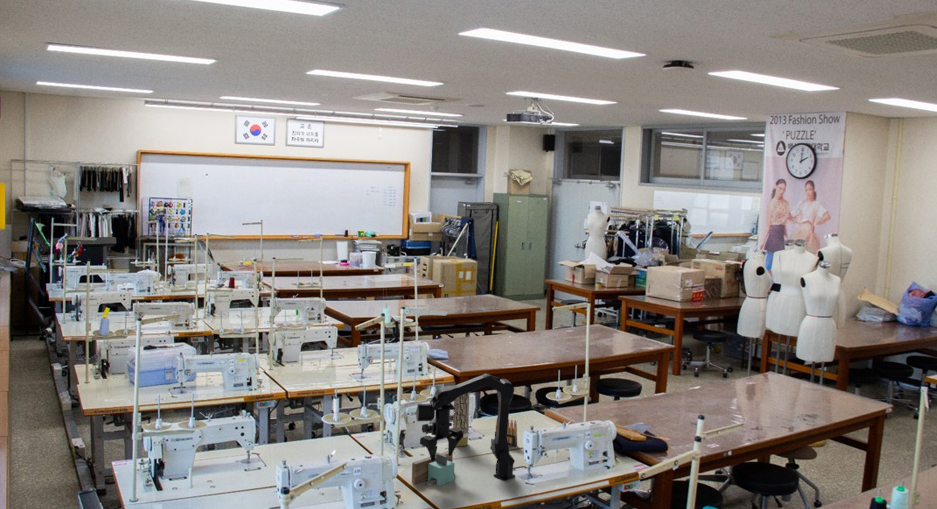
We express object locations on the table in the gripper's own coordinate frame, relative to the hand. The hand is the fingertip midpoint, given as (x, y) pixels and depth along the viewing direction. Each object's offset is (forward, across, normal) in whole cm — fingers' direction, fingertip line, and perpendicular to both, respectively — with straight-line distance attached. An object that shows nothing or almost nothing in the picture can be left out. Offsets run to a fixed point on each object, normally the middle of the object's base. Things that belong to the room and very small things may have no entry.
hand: (441, 458), depth 314 cm
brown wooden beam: (+9, 0, -3) cm, 9 cm away
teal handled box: (+9, 0, 0) cm, 9 cm away
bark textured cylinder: (+9, -34, -24) cm, 43 cm away
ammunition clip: (+9, -50, -11) cm, 52 cm away
